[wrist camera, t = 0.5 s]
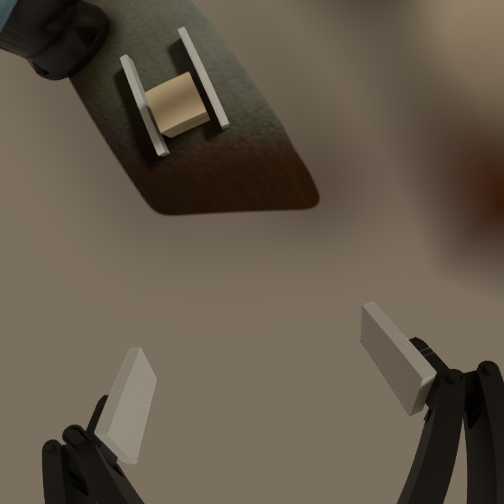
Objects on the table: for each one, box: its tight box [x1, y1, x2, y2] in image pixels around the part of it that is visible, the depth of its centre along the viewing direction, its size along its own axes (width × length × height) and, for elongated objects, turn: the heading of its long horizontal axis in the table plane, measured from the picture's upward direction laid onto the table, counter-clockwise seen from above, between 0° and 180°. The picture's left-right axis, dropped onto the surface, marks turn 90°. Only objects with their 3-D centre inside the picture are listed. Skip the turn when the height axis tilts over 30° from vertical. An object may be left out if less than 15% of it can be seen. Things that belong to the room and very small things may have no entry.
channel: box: [120, 27, 229, 157], centre depth 31 cm, size 17×10×3 cm, turn 22°
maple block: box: [145, 72, 210, 138], centre depth 31 cm, size 6×6×6 cm
